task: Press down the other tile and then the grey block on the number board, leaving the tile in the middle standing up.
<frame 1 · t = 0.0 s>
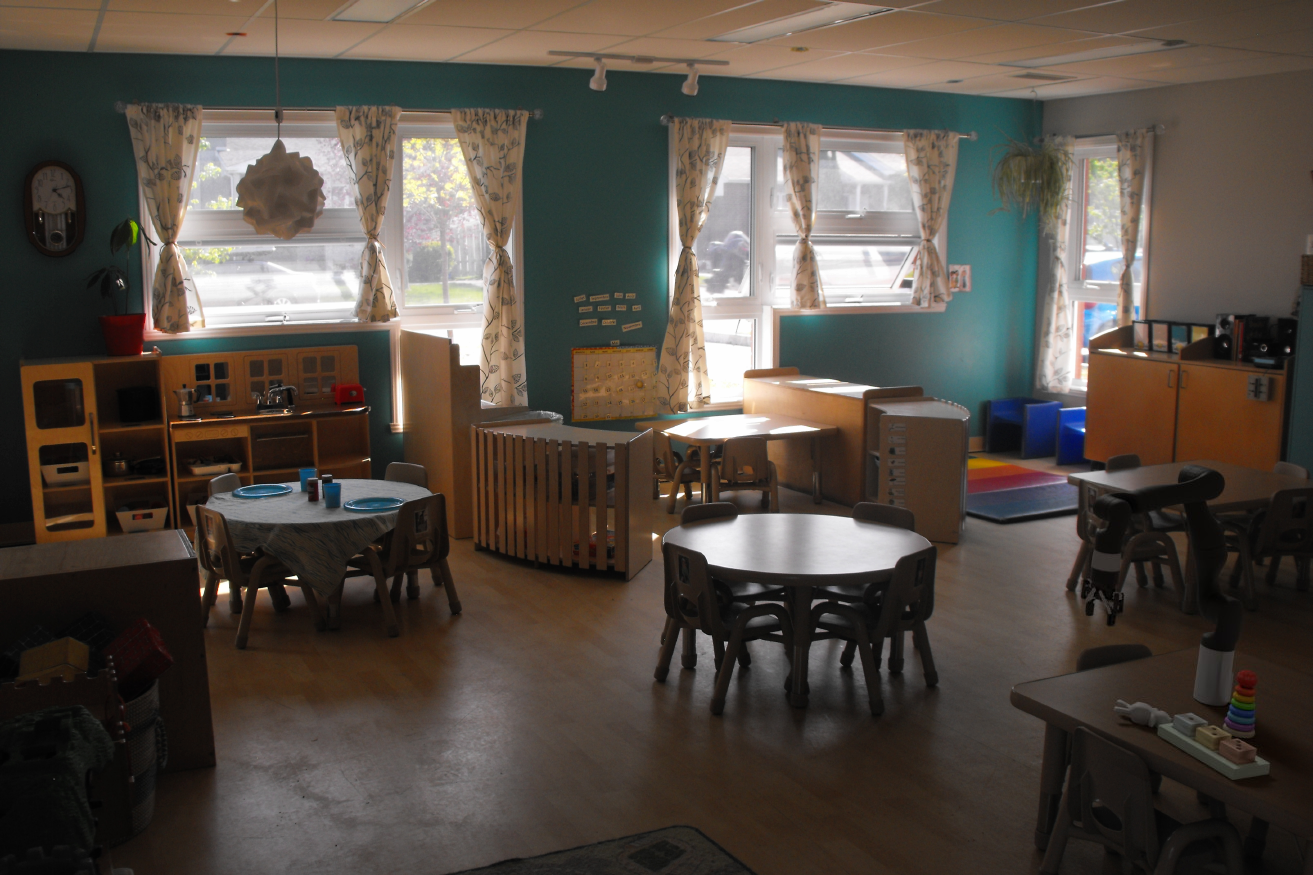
hand: (1099, 620, 305), 29 cm above the table, fingers open, 8 cm apart
stacking toy: (1238, 733, 303), on the table
number board: (1210, 753, 289), on the table
tile 3: (1237, 751, 281), point 5 cm above the table, slide at 0.0 cm
tile 2: (1213, 737, 289), point 5 cm above the table, slide at 0.0 cm
grey block 1: (1190, 724, 296), point 5 cm above the table, slide at 0.0 cm
bunny figurine: (1142, 722, 308), on the table
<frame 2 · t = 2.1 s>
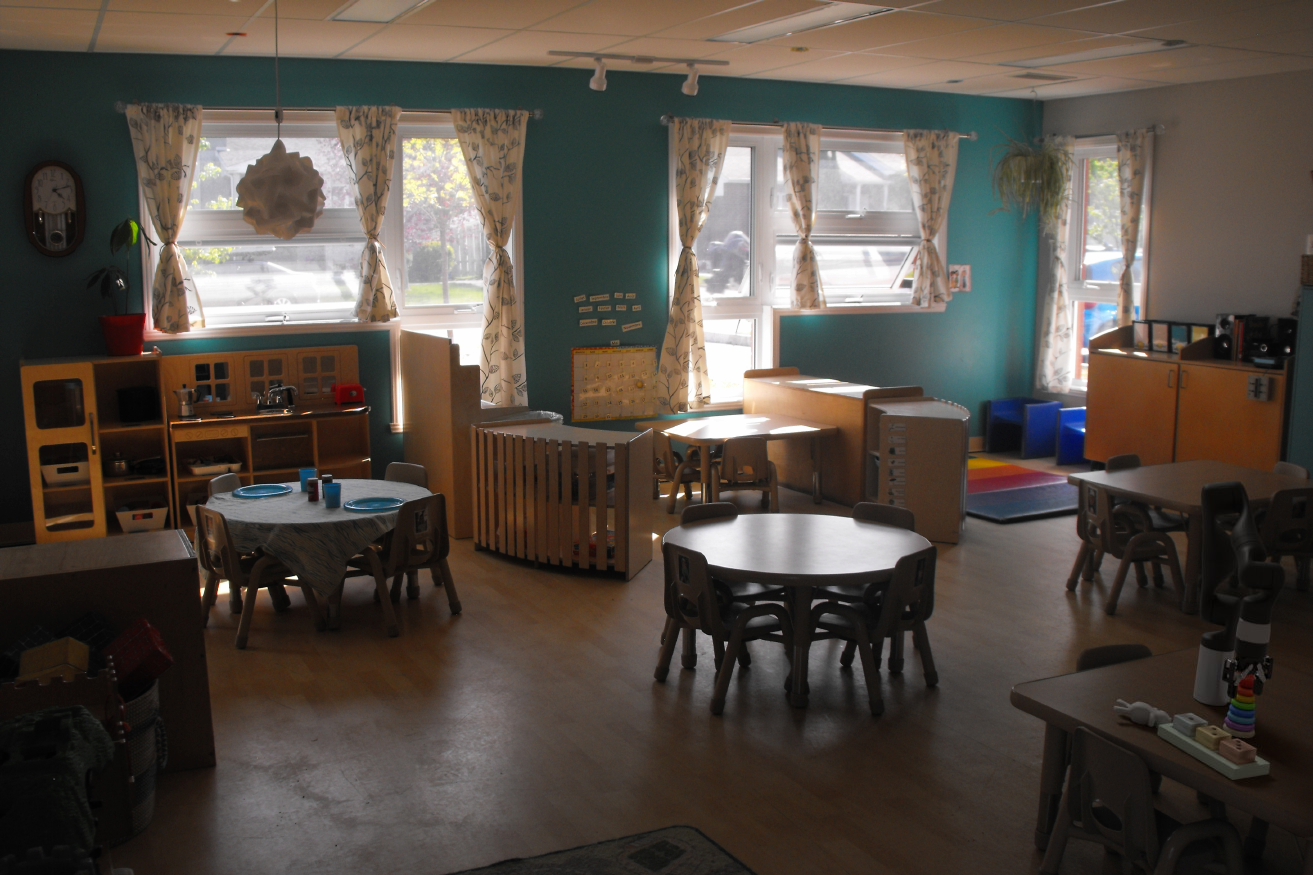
hand: (1244, 695, 278), 20 cm above the table, fingers open, 8 cm apart
nothing on the table moved.
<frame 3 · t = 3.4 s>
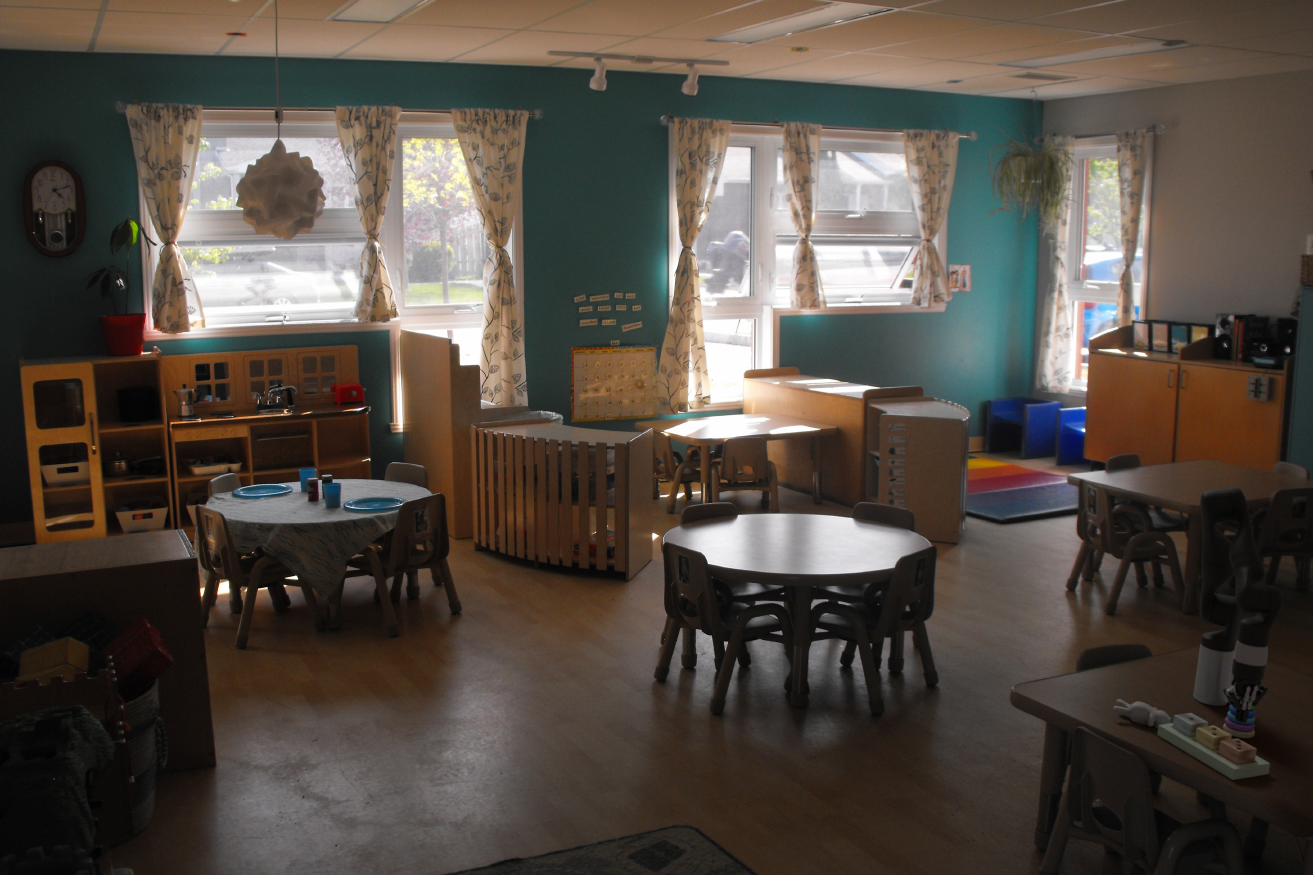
hand: (1240, 721, 280), 13 cm above the table, fingers closed
nothing on the table moved.
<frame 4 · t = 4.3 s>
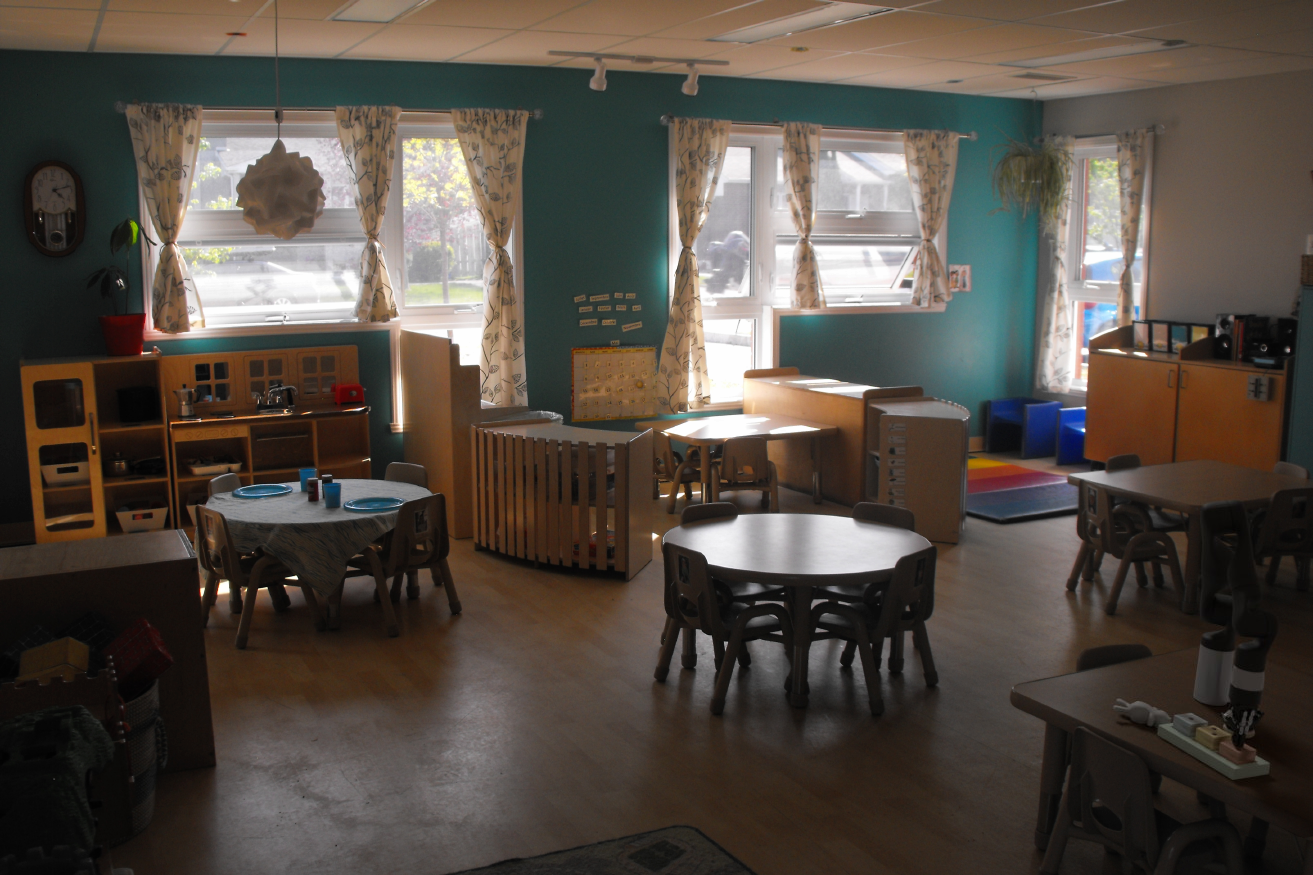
hand: (1237, 745, 281), 6 cm above the table, fingers closed
tile 3: (1237, 752, 281), point 4 cm above the table, slide at 0.4 cm, touching gripper
everything else where it was.
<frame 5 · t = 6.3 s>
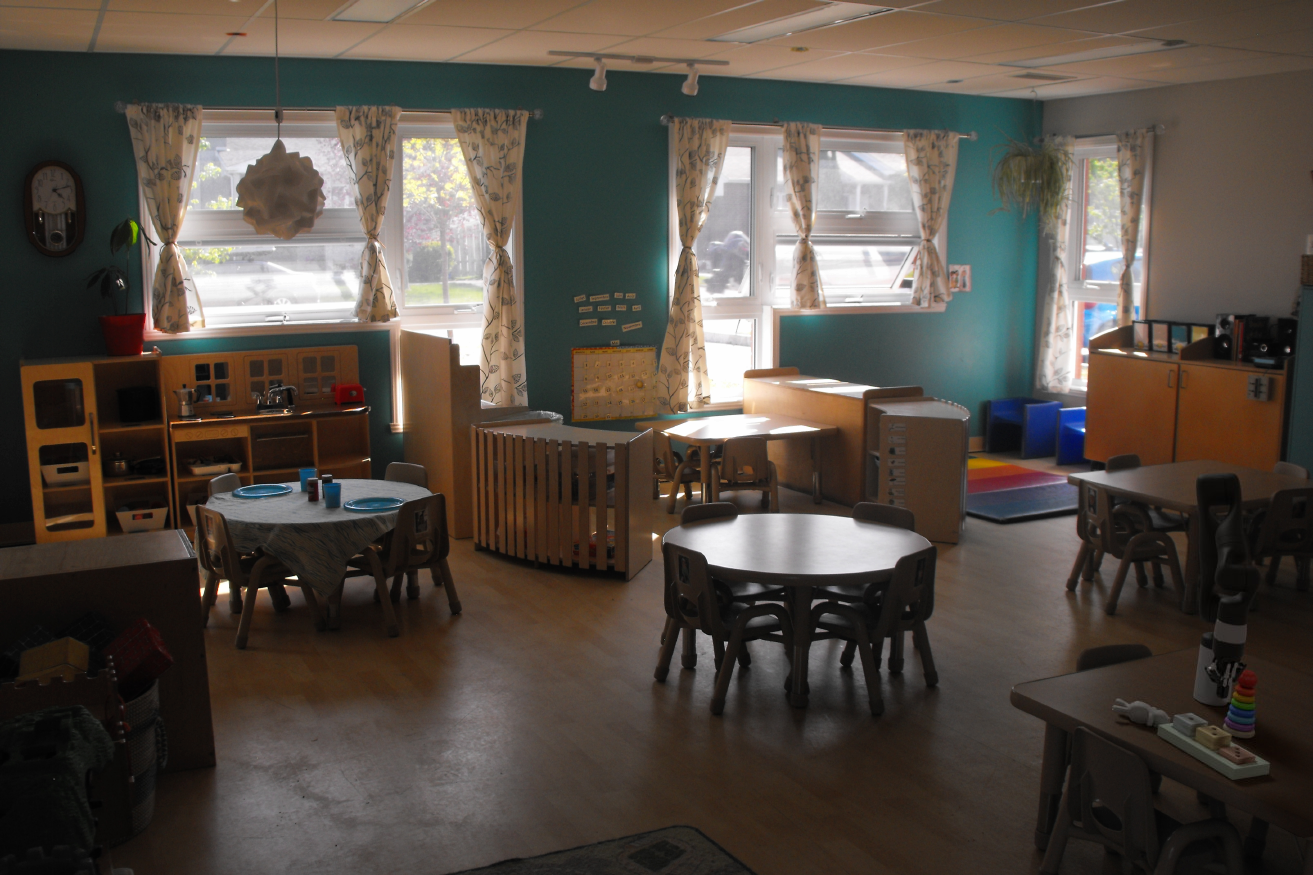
hand: (1221, 697, 287), 16 cm above the table, fingers closed
tile 3: (1236, 758, 282), point 3 cm above the table, slide at 2.1 cm
everything else where it was.
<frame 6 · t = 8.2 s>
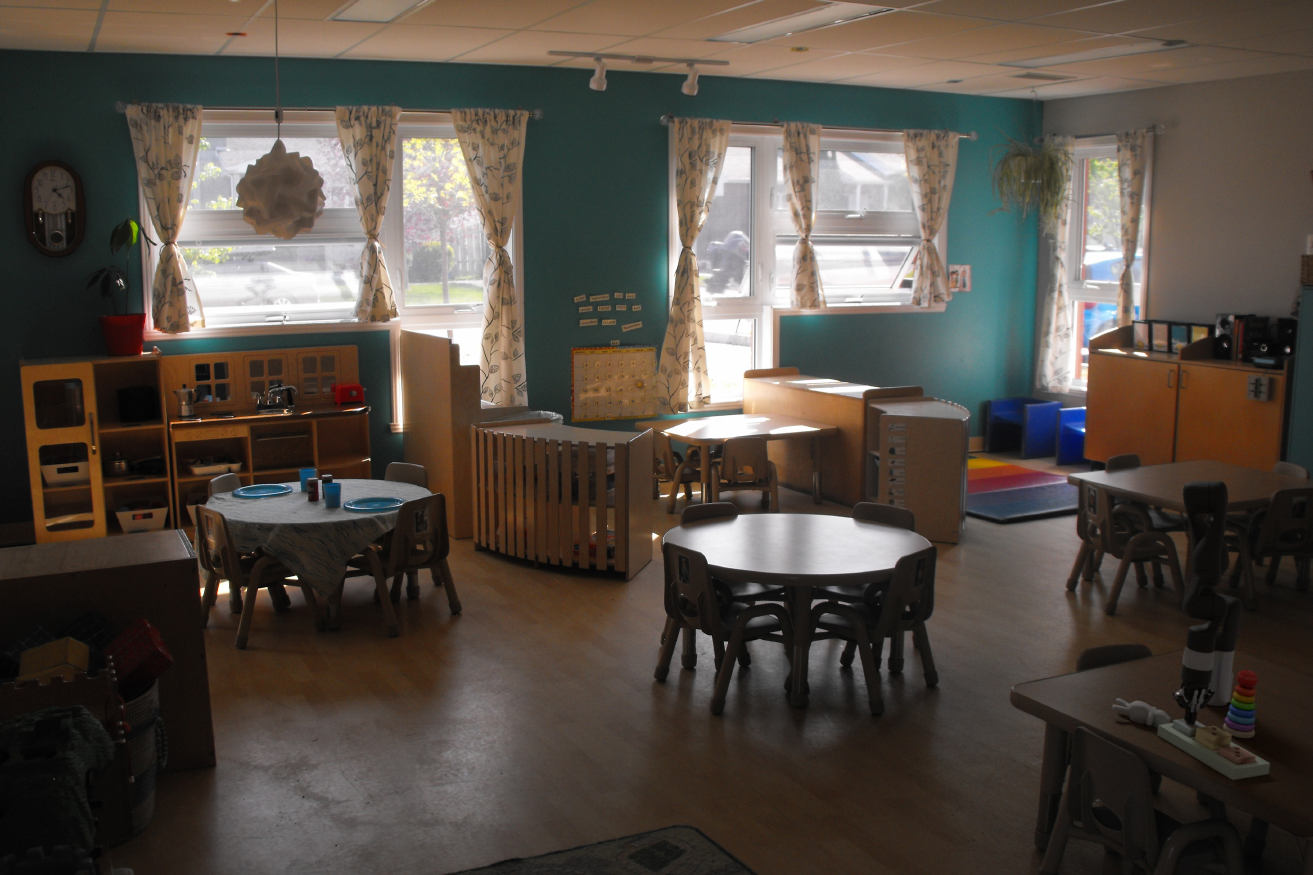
hand: (1189, 722, 296), 5 cm above the table, fingers closed
grey block 1: (1189, 729, 296), point 3 cm above the table, slide at 1.5 cm, touching gripper
everything else where it was.
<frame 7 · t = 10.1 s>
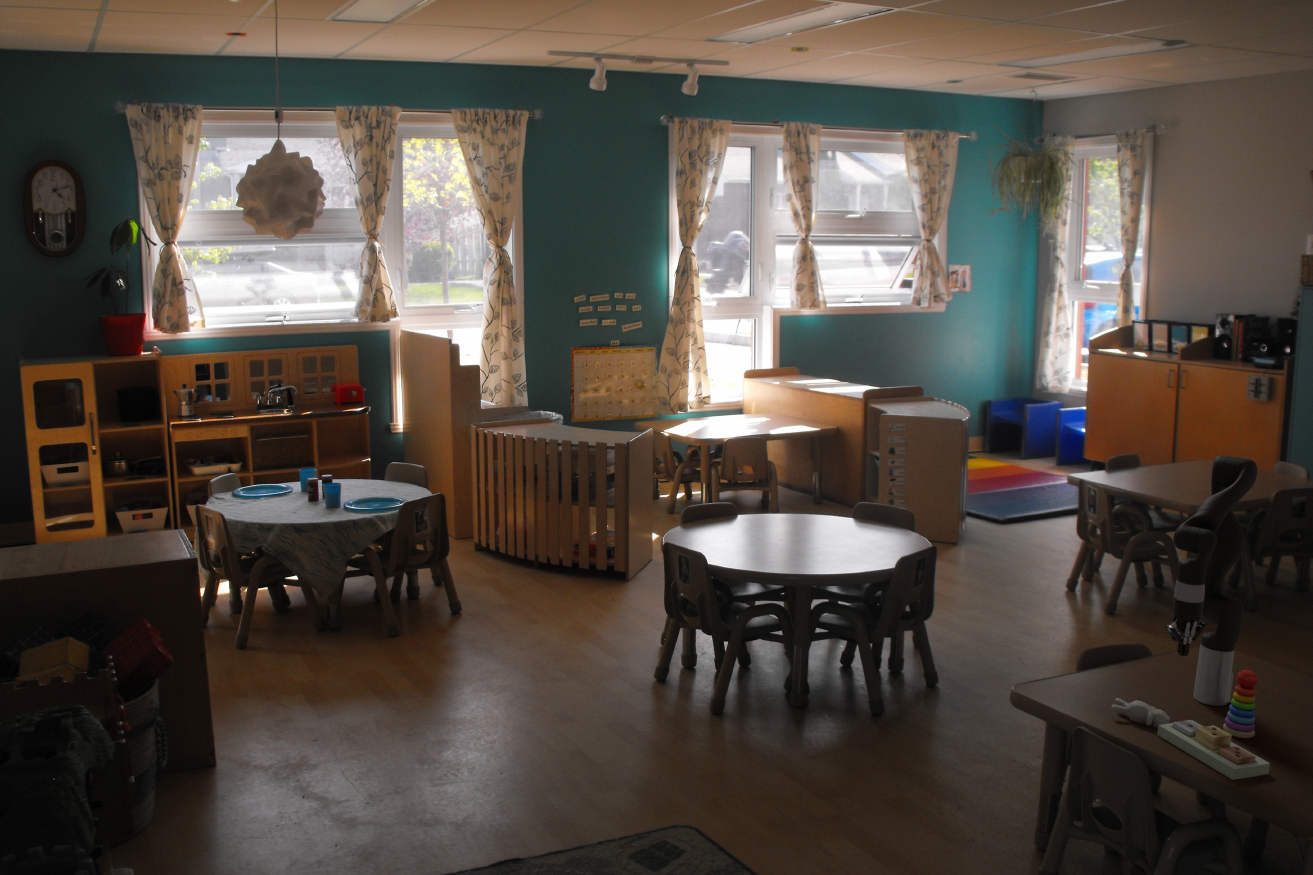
hand: (1182, 655, 301), 22 cm above the table, fingers closed
grey block 1: (1189, 732, 296), point 2 cm above the table, slide at 2.1 cm, touching number board
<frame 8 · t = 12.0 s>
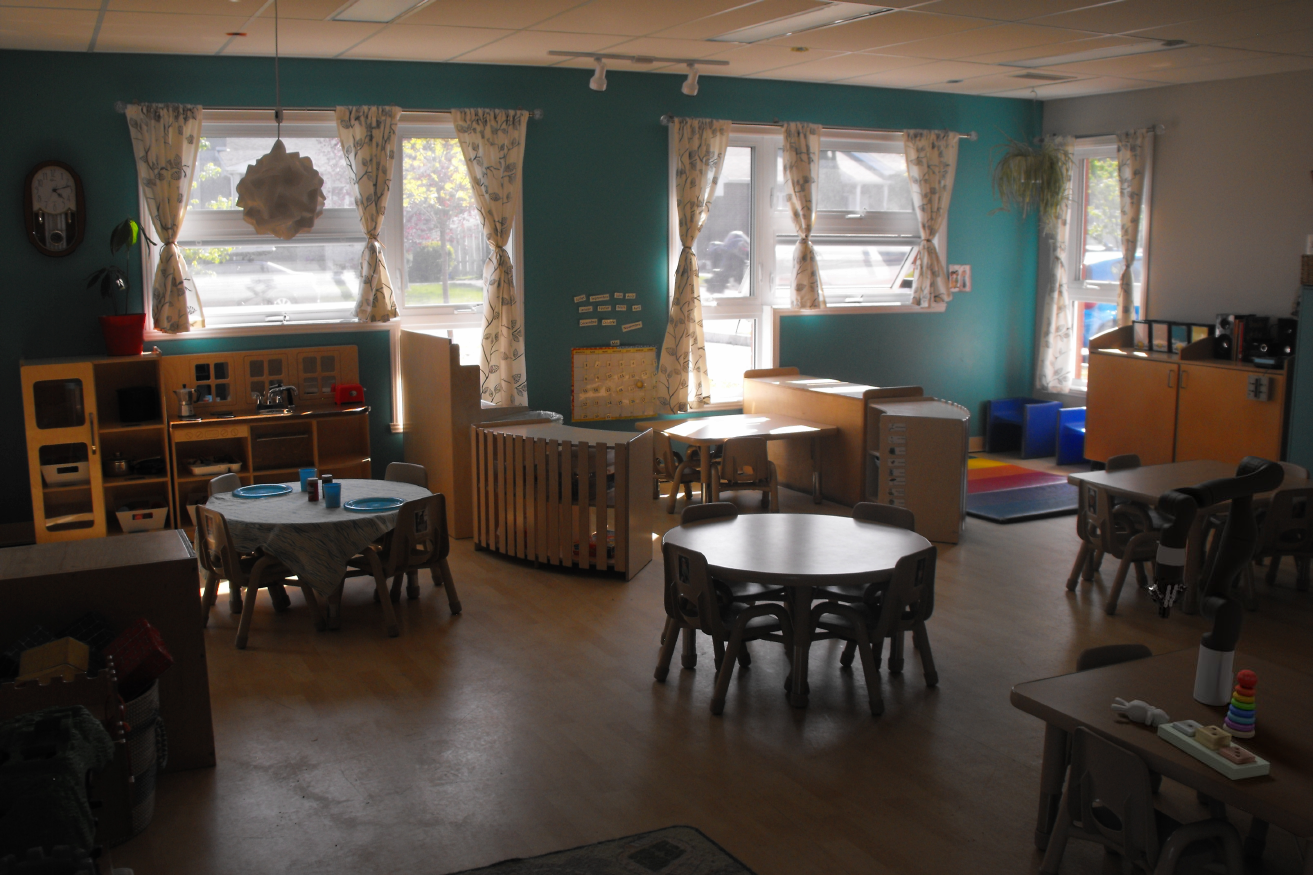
hand: (1163, 617, 310), 29 cm above the table, fingers closed
at the end: tile 3 slide at 2.1 cm; grey block 1 slide at 2.1 cm; tile 2 slide at 0.0 cm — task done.
